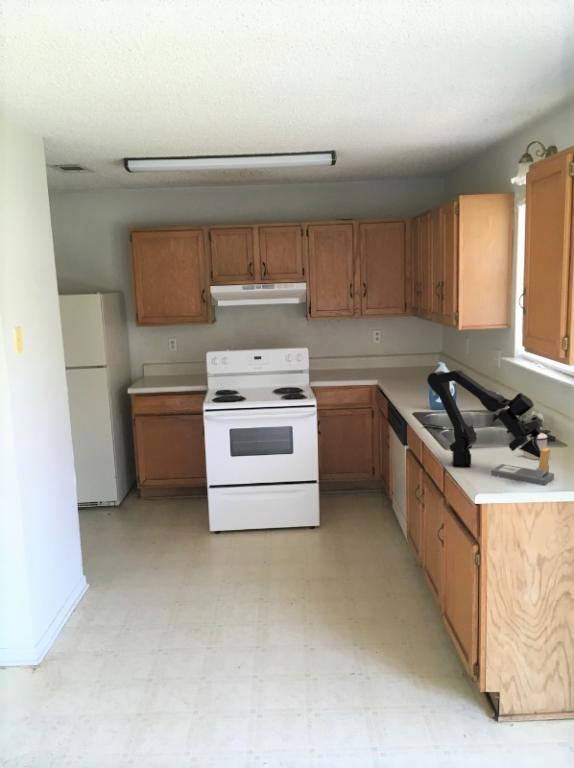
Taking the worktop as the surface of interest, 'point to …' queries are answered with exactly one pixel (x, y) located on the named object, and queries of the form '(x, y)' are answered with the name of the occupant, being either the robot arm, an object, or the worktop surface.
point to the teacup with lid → (541, 444)
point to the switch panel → (523, 474)
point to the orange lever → (544, 459)
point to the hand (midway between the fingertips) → (541, 457)
